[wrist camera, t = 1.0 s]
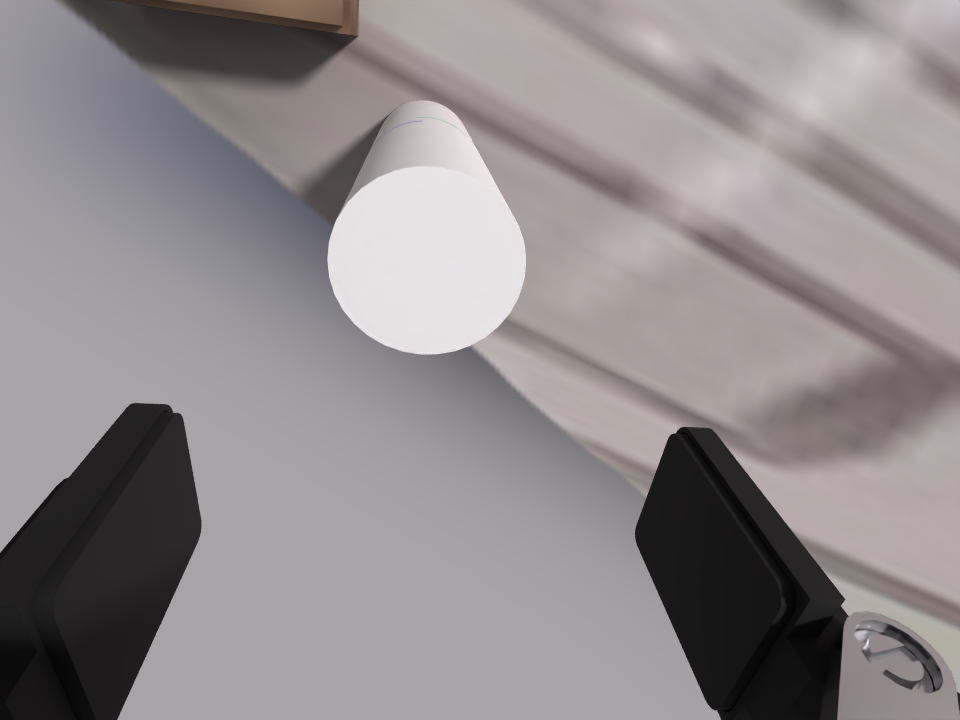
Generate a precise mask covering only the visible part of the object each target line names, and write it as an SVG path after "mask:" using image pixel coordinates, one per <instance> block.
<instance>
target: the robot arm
mask: <svg viewBox="0 0 960 720" xmlns="http://www.w3.org/2000/svg"><path fill="white" fill-rule="evenodd" d="M200 533H201V516H200V510H199V505H198V499H197V494H196V488H195V482H194V477H193V472H192V466H191V460H190V454H189V449H188V444H187V438H186V432H185V426H184V421H183V418H182V416H181V414H179V413H173V411H172V409H171V407H170V406H169V405H166V404H144V403H133V404H130V405H129V406H128V407H127V408H126V409H125V411H124V412H123V413H122V414H121V415H120V416H119V418H118V419H117V420H116V421H115V423H114V424H113V425H112V426H111V427H110V428H109V430H108V431H107V432H106V433H105V434H104V436H103V437H102V438H101V439H100V441H99V442H98V443H97V444H96V445H95V447H94V448H93V449H92V450H91V451H90V453H89V454H88V455H87V456H86V457H85V459H84V460H83V461H82V462H81V463H80V465H79V466H78V467H77V469H76V470H75V471H74V472H73V473H72V474H71V476H70V477H69V478H66V479H64V480H63V481H62V482H60V483H59V484H58V485H57V486H56V487H55V488H54V490H53V491H52V492H51V493H50V494H49V496H48V497H47V498H46V499H45V500H44V502H43V503H42V504H41V505H40V506H39V508H38V509H37V510H36V511H35V512H34V513H33V514H32V516H31V517H30V518H29V519H28V520H27V522H26V523H25V524H24V525H23V526H22V528H21V529H20V530H19V531H18V532H17V534H16V535H15V536H14V537H13V538H12V539H11V541H10V542H9V543H8V544H7V545H6V547H5V548H4V549H3V550H2V551H1V553H0V720H117V719H118V717H119V714H120V712H121V710H122V707H123V706H124V703H125V701H126V699H127V697H128V695H129V692H130V690H131V688H132V686H133V684H134V681H135V679H136V677H137V675H138V673H139V670H140V668H141V666H142V664H143V661H144V659H145V657H146V655H147V653H148V651H149V648H150V646H151V644H152V642H153V639H154V637H155V635H156V633H157V631H158V629H159V626H160V624H161V622H162V620H163V618H164V615H165V613H166V611H167V609H168V607H169V604H170V602H171V600H172V598H173V595H174V593H175V591H176V589H177V587H178V585H179V582H180V580H181V578H182V576H183V573H184V571H185V569H186V567H187V565H188V563H189V560H190V558H191V556H192V554H193V552H194V549H195V547H196V545H197V543H198V540H199V537H200ZM635 539H636V543H637V546H638V548H639V551H640V553H641V555H642V557H643V560H644V562H645V564H646V566H647V569H648V571H649V573H650V576H651V578H652V580H653V582H654V585H655V587H656V589H657V591H658V594H659V596H660V598H661V600H662V603H663V605H664V607H665V610H666V612H667V614H668V616H669V619H670V621H671V623H672V625H673V627H674V630H675V632H676V634H677V637H678V639H679V641H680V643H681V645H682V648H683V650H684V652H685V655H686V657H687V659H688V662H689V663H690V666H691V668H692V670H693V673H694V675H695V677H696V680H697V682H698V684H699V686H700V688H701V691H702V693H703V695H704V698H705V700H706V701H707V703H708V705H709V706H710V707H711V708H712V709H713V710H717V711H718V713H719V715H720V718H721V720H960V694H959V693H958V692H957V690H956V684H955V681H954V678H953V675H952V672H951V670H950V669H949V667H948V666H947V664H946V663H945V661H944V659H943V658H942V657H941V655H940V654H939V653H938V652H937V651H936V650H935V649H934V648H933V647H932V646H931V645H930V644H929V643H928V642H927V641H926V640H924V639H923V638H922V637H921V636H919V635H918V634H917V633H916V632H914V631H913V630H911V629H910V628H908V627H906V626H905V625H903V624H901V623H900V622H898V621H896V620H894V619H891V618H889V617H886V616H884V615H881V614H877V613H872V612H867V611H865V612H856V613H853V614H852V615H850V616H848V615H847V613H846V612H845V611H844V610H843V608H842V607H841V605H842V603H843V602H844V600H845V598H844V597H843V596H842V595H841V593H840V592H839V591H838V590H837V588H836V587H835V586H834V584H833V583H832V582H831V581H830V579H829V578H828V577H827V575H826V574H825V573H824V572H823V570H822V569H821V568H820V566H819V565H818V564H817V563H816V561H815V560H814V559H813V557H812V556H811V555H810V554H809V552H808V551H807V550H806V548H805V547H804V546H803V545H802V543H801V542H800V541H799V540H798V538H797V537H796V536H795V534H794V533H793V532H792V531H791V529H790V528H789V527H788V525H787V524H786V523H785V522H784V520H783V519H782V518H781V516H780V515H779V514H778V513H777V511H776V510H775V509H774V507H773V506H772V505H771V504H770V502H769V501H768V500H767V498H766V497H765V496H764V495H763V493H762V492H761V491H760V489H759V488H758V487H757V486H756V484H755V483H754V482H753V481H752V479H751V478H750V477H749V475H748V474H747V473H746V472H745V470H744V469H743V468H742V466H741V465H740V464H739V463H738V461H737V460H736V459H735V457H734V456H733V455H732V454H731V452H730V451H729V450H728V448H727V447H726V446H725V445H724V443H723V442H722V441H721V439H720V438H719V437H718V436H717V434H716V433H715V432H714V431H713V430H712V429H710V428H697V427H682V428H680V429H679V430H678V431H677V433H676V434H671V435H670V436H669V438H668V441H667V443H666V446H665V449H664V452H663V454H662V457H661V460H660V463H659V465H658V468H657V471H656V473H655V476H654V479H653V482H652V484H651V487H650V490H649V493H648V495H647V498H646V501H645V503H644V506H643V509H642V512H641V515H640V517H639V520H638V523H637V526H636V529H635Z"/></svg>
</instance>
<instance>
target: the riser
mask: <svg viewBox="0 0 960 720" xmlns="http://www.w3.org/2000/svg"><path fill="white" fill-rule="evenodd" d="M110 1H116V2H123V3H130V4H137V5H144V6H150V7H157V8H164V9H171V10H178V11H185V12H192V13H199V14H206V15H213V16H220V17H227V18H234V19H241V20H248V21H255V22H262V23H269V24H276V25H283V26H290V27H297V28H304V29H311V30H318V31H325V32H332V33H339V34H346V35H353V36H358V11H359V0H110Z"/></svg>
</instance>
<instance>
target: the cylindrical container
mask: <svg viewBox="0 0 960 720" xmlns="http://www.w3.org/2000/svg"><path fill="white" fill-rule="evenodd" d="M327 260H328V270H329V278H330V281H331V285H332V288H333V291H334V294H335V296H336V298H337V300H338V302H339V303H340V305H341V307H342V309H343V311H344V312H345V313H346V314H347V315H348V316H349V318H350V319H351V320H352V322H353V323H354V324H355V325H356V326H357V327H359V328H360V329H361V330H362V331H363V332H365V333H366V334H367V335H368V336H370V337H372V338H373V339H375V340H377V341H378V342H380V343H382V344H384V345H386V346H389V347H391V348H395V349H397V350H400V351H403V352H410V353H416V354H441V353H446V352H452V351H456V350H459V349H462V348H465V347H468V346H470V345H472V344H474V343H476V342H477V341H479V340H481V339H483V338H485V337H486V336H487V335H488V334H490V333H491V332H492V331H493V330H495V329H496V328H497V327H498V326H499V325H500V324H501V323H502V322H503V320H504V319H505V318H506V317H507V316H508V314H509V313H510V312H511V310H512V308H513V306H514V305H515V303H516V301H517V299H518V297H519V295H520V292H521V288H522V285H523V281H524V278H525V267H526V255H525V246H524V241H523V238H522V235H521V231H520V228H519V225H518V224H517V222H516V220H515V218H514V216H513V214H512V213H511V211H510V209H509V207H508V205H507V204H506V202H505V200H504V198H503V196H502V194H501V193H500V191H499V189H498V187H497V185H496V183H495V182H494V180H493V178H492V176H491V174H490V173H489V171H488V169H487V167H486V165H485V163H484V162H483V160H482V158H481V156H480V154H479V152H478V151H477V149H476V147H475V145H474V143H473V142H472V140H471V138H470V136H469V134H468V133H467V131H466V129H465V127H464V126H463V124H462V122H461V121H460V120H459V118H458V117H457V116H456V115H455V114H454V113H453V112H452V111H450V110H449V109H448V108H447V107H445V106H443V105H441V104H438V103H435V102H431V101H423V100H418V101H412V102H408V103H406V104H403V105H401V106H400V107H398V108H397V109H395V110H394V111H393V112H392V113H391V114H390V115H389V116H388V117H387V118H386V120H385V121H384V123H383V124H382V126H381V128H380V130H379V132H378V135H377V137H376V139H375V141H374V143H373V145H372V147H371V149H370V151H369V153H368V155H367V157H366V159H365V161H364V164H363V166H362V168H361V170H360V172H359V174H358V176H357V178H356V180H355V183H354V185H353V187H352V189H351V191H350V193H349V195H348V197H347V199H346V201H345V203H344V205H343V207H342V209H341V211H340V213H339V215H338V217H337V220H336V222H335V225H334V228H333V231H332V234H331V237H330V240H329V249H328V258H327Z"/></svg>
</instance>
